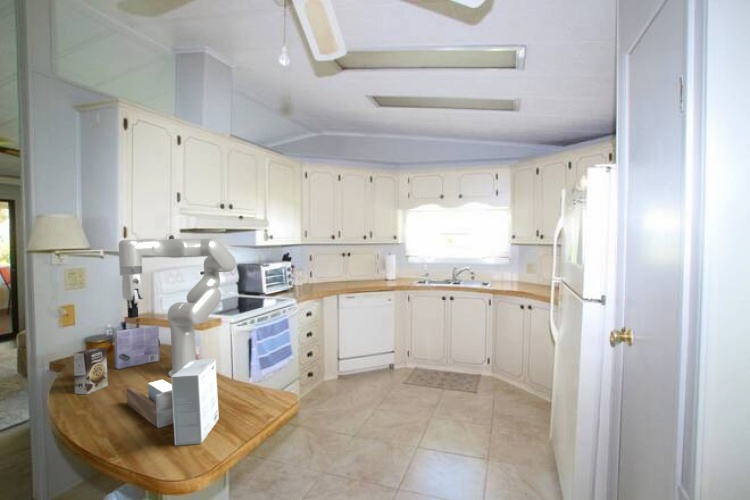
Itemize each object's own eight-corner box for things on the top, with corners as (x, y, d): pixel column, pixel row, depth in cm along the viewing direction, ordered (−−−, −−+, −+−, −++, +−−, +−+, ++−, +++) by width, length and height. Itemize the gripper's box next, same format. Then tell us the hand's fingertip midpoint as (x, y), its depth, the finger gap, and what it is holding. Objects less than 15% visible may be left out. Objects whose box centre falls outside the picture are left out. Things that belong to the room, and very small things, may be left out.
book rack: (155, 396, 145) (154, 369, 145) (189, 417, 125) (187, 387, 125) (127, 404, 138) (126, 376, 138) (158, 428, 118) (156, 396, 118)
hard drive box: (194, 421, 123) (192, 359, 122) (219, 419, 123) (216, 358, 123) (173, 446, 107) (170, 376, 107) (201, 444, 108) (198, 374, 108)
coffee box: (87, 394, 149) (86, 353, 148) (74, 393, 150) (72, 353, 150) (108, 385, 158) (106, 347, 157) (95, 385, 159) (93, 346, 159)
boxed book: (163, 407, 134) (161, 379, 134) (179, 418, 125) (178, 388, 125) (149, 412, 131) (147, 382, 131) (164, 423, 122) (163, 392, 121)
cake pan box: (159, 358, 196) (157, 324, 195) (162, 360, 192) (160, 325, 192) (114, 367, 182) (113, 331, 182) (117, 370, 178) (115, 332, 178)
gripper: (148, 270, 149) (150, 317, 149) (135, 270, 158) (137, 314, 159) (126, 272, 143) (128, 321, 143) (114, 271, 153) (116, 317, 153)
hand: (133, 317), depth 151 cm, fingers closed
